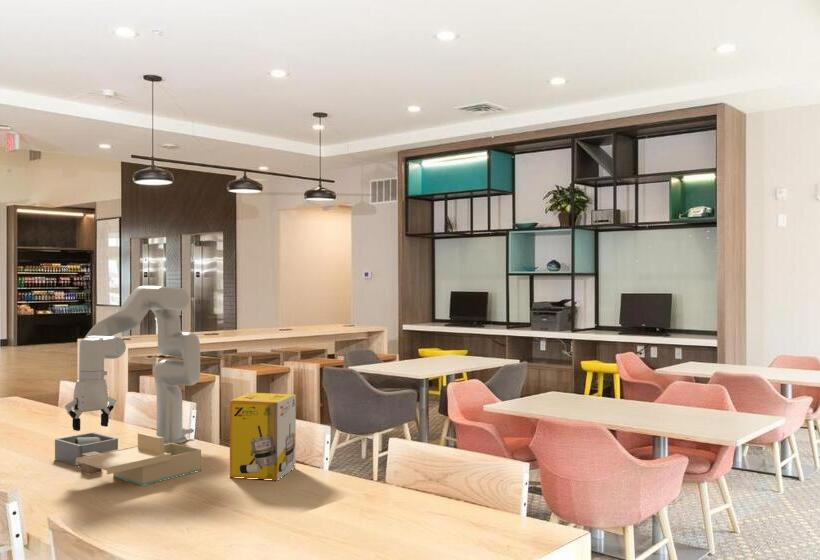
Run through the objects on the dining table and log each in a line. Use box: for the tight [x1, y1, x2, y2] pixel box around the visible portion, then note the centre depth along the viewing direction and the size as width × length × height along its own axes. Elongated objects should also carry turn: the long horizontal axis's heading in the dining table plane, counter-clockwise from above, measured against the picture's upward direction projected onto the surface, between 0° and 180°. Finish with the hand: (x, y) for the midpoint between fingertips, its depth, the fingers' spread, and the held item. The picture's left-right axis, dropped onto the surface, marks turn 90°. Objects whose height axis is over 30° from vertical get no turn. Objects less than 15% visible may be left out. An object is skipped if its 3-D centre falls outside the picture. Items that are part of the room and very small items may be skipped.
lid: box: [76, 432, 171, 475], centre depth 239 cm, size 22×18×7 cm
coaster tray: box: [54, 432, 119, 467], centre depth 267 cm, size 14×16×7 cm
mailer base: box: [112, 443, 202, 486], centre depth 249 cm, size 22×16×7 cm
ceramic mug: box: [75, 437, 101, 445], centre depth 269 cm, size 11×8×8 cm
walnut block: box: [80, 451, 103, 475], centre depth 250 cm, size 4×4×6 cm
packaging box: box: [229, 392, 297, 480], centre depth 250 cm, size 16×16×25 cm
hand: (90, 428), depth 250 cm, fingers open, 9 cm apart
